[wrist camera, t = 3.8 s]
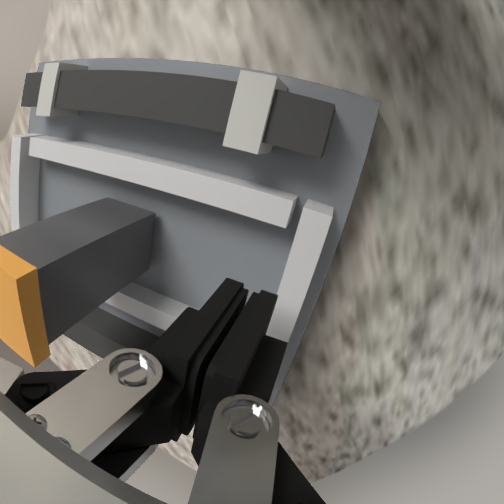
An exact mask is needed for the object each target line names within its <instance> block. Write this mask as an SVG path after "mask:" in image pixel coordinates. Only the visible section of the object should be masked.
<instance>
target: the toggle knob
mask: <svg viewBox="0 0 504 504" xmlns="http://www.w3.org/2000/svg"><path fill="white" fill-rule="evenodd" d="M155 215H156V212H153V211H149V210H146V209H143V208H140V207H137V206H134V205H131V204H128V203H124V202H121V201H118V200H115V199H112V198H109V197H107V198H103V199H100V200H97V201H94V202H91V203H88V204H85V205H82V206H79V207H76V208H74V209H71V210H68V211H65V212H62V213H59V214H57V215H54V216H51V217H49V218H46V219H43V220H40V221H38V222H35V223H33V224H30V225H28V226H25V227H22V228H20V229H17V230H15V231H12V232H10V233H8V234H5V235H3V236H0V339H1V340H3V341H4V342H5V343H6V344H7V345H8V346H9V347H10V348H12V349H13V350H14V351H15V352H16V353H17V354H19V355H20V356H21V357H22V358H24V359H25V360H26V361H27V362H28V363H30V364H31V365H32V366H33V367H36V366H37V365H39V364H40V363H41V362H42V361H43V360H45V359H46V358H47V357H48V356H50V355H51V354H50V350H49V344H50V343H52V342H53V341H54V340H56V339H57V338H58V337H59V336H61V335H62V334H63V333H65V332H66V331H67V330H68V329H70V328H71V327H72V326H74V325H75V324H76V323H77V322H79V321H80V320H81V319H83V318H84V317H85V316H87V315H88V314H89V313H91V312H92V311H93V310H95V309H96V308H97V307H99V306H100V305H101V304H103V303H104V302H105V301H107V300H108V299H109V298H111V297H112V296H113V295H115V294H116V293H117V292H119V291H120V290H121V289H123V288H124V287H125V286H127V285H128V284H130V283H131V282H132V281H134V280H135V279H136V278H138V277H139V276H141V275H142V274H143V273H145V272H146V271H148V270H149V268H150V258H151V248H152V239H153V231H154V223H155Z"/></svg>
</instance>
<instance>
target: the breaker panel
mask: <svg viewBox="0 0 504 504" xmlns="http://www.w3.org/2000/svg"><path fill="white" fill-rule="evenodd" d="M57 62H61V63H69V64H76V65H83V66H88V68H87V70H132V71H151V72H164V73H175V74H185V75H194V76H202V77H209V78H217V79H223V80H230V81H236V82H238V78H239V74H240V71H241V70H245V71H251V72H257V73H262V74H267V75H272V76H277V77H278V78H279V79H280V80H281V81H282V82H283V83H284V84H285V85H286V86H287V87H288V88H287V91H286V92H290V93H295V94H299V95H303V96H307V97H311V98H314V99H318V100H322V101H325V102H329V103H333V104H335V108H336V111H335V115H334V118H333V122H332V126H331V130H330V133H329V137H328V141H327V144H326V148H325V152H324V155H323V157H322V158H317V157H313V156H310V155H306V154H303V153H300V152H296V151H293V150H289V149H285V148H282V147H278V146H274V145H273V146H272V150H271V152H270V153H264V154H258V155H257V154H254V153H250V152H246V151H242V150H238V149H234V148H230V147H226V146H222V145H223V141H224V136H225V133H220V132H216V131H211V130H206V129H202V128H197V127H192V126H186V125H181V124H176V123H170V122H164V121H158V120H152V119H146V118H139V117H133V116H126V115H118V114H110V113H102V112H93V111H83V110H79V115H78V116H50V117H49V116H38V115H36V110H37V107H31V112H30V120H29V129H28V134H23V135H15V136H13V137H12V150H11V171H10V208H11V230H12V231H15V230H17V229H20V228H22V227H25V226H28V225H30V224H33V223H35V222H38V221H40V220H43V219H46V218H49V217H51V216H54V215H57V214H59V213H62V212H65V211H68V210H71V209H74V208H76V207H79V206H82V205H85V204H88V203H91V202H94V201H97V200H100V199H103V198H107V197H109V198H112V199H115V200H118V201H121V202H124V203H128V204H131V205H134V206H137V207H140V208H143V209H146V210H149V211H153V212H156V215H155V223H154V231H153V239H152V248H151V258H150V268H149V270H148V271H146V272H145V273H143V274H142V275H141V276H139V277H138V278H136V279H135V280H134V281H132V282H131V283H130V284H128V285H127V286H125V287H124V288H123V289H121V290H120V291H119V292H117V293H116V294H115V295H113V296H112V297H111V298H109V299H108V300H107V301H105V302H104V303H103V304H101V305H100V306H99V308H101V309H103V310H105V311H107V312H109V313H111V314H113V315H115V316H117V317H119V318H121V319H123V320H125V321H127V322H129V323H131V324H133V325H135V326H137V327H139V328H141V329H144V330H146V331H148V332H150V333H152V334H154V335H157V336H159V337H160V336H161V335H162V334H163V333H164V332H165V331H166V330H167V329H168V328H169V326H170V325H171V324H172V323H173V322H174V321H175V320H176V319H177V318H178V317H179V316H180V314H181V313H182V312H183V311H184V310H185V309H186V308H187V307H192V308H195V309H197V310H200V309H201V308H202V306H203V305H204V304H205V303H206V302H207V300H208V299H209V298H210V297H211V296H212V294H213V293H214V292H215V291H216V290H217V288H218V287H219V286H220V285H221V284H222V283H223V281H224V280H225V279H226V278H230V279H233V280H236V281H239V282H242V283H244V288H245V289H248V290H249V292H248V296H247V300H246V303H247V301H248V300H249V298H250V296H251V295H252V293H253V292H256V293H260V291H261V290H265V291H268V292H271V293H274V294H276V295H278V298H277V302H276V305H275V308H274V311H273V314H272V317H271V320H270V323H269V326H268V329H267V332H266V335H268V336H271V337H274V338H276V339H279V340H282V341H285V342H288V344H287V347H286V350H285V354H284V357H283V360H282V363H281V366H280V369H279V373H278V376H277V379H276V382H275V385H274V388H273V391H272V394H271V397H270V400H269V403H268V404H269V405H270V406H271V407H272V406H273V404H274V401H275V399H276V397H277V395H278V393H279V391H280V388H281V386H282V384H283V382H284V379H285V377H286V375H287V373H288V370H289V368H290V366H291V363H292V361H293V359H294V356H295V354H296V352H297V349H298V347H299V345H300V342H301V340H302V337H303V335H304V333H305V330H306V328H307V325H308V323H309V320H310V318H311V315H312V313H313V310H314V308H315V305H316V302H317V300H318V297H319V295H320V292H321V289H322V287H323V284H324V281H325V279H326V276H327V273H328V271H329V268H330V265H331V262H332V260H333V257H334V254H335V251H336V248H337V246H338V243H339V240H340V237H341V234H342V231H343V228H344V225H345V222H346V219H347V216H348V213H349V210H350V207H351V204H352V201H353V198H354V195H355V191H356V188H357V185H358V182H359V178H360V175H361V172H362V169H363V165H364V162H365V158H366V155H367V151H368V148H369V144H370V141H371V137H372V134H373V130H374V126H375V123H376V119H377V115H378V111H379V107H380V102H378V101H375V100H372V99H369V98H366V97H362V96H359V95H356V94H353V93H350V92H346V91H343V90H339V89H336V88H332V87H329V86H325V85H321V84H317V83H313V82H309V81H305V80H301V79H297V78H292V77H288V76H283V75H278V74H273V73H268V72H263V71H257V70H252V69H246V68H239V67H233V66H226V65H218V64H210V63H201V62H191V61H180V60H165V59H143V58H98V59H77V60H63V61H52V62H43V63H39V66H38V71H37V72H43V70H44V65H45V64H46V63H57ZM245 305H246V304H245Z"/></svg>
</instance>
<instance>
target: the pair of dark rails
mask: <svg viewBox="0 0 504 504" xmlns="http://www.w3.org/2000/svg"><path fill="white" fill-rule="evenodd" d="M87 68H88V66H83V65H76V64H69V63H61V62H57V63H46V64H45V65H44V70H43V72H36V73H27V74H26V79H25V85H24V90H23V96H22V103H21V106H26V107H37V110H36V115H38V116H49V117H50V116H78V115H79V110H83V111H93V112H102V113H110V114H118V115H126V116H133V117H139V118H146V119H152V120H158V121H164V122H170V123H176V124H181V125H186V126H192V127H197V128H202V129H206V130H211V131H216V132H220V133H225V136H224V141H223V145H222V146H226V147H230V148H234V149H238V150H242V151H246V152H250V153H254V154H257V155H258V154H264V153H270V152H271V150H272V146H273V145H274V146H278V147H282V148H285V149H289V150H293V151H296V152H300V153H303V154H306V155H310V156H313V157H317V158H322V157H323V155H324V152H325V148H326V144H327V141H328V137H329V133H330V130H331V126H332V122H333V118H334V115H335V111H336V108H335V104H333V103H329V102H325V101H322V100H318V99H314V98H311V97H307V96H303V95H299V94H295V93H290V92H286V91H287V88H288V87H287V86H286V85H285V84H284V83H283V82H282V81H281V80H280V79H279V78H278V77H277V76H272V75H267V74H262V73H257V72H251V71H245V70H241V71H240V74H239V78H238V82H236V81H230V80H223V79H217V78H209V77H202V76H194V75H185V74H175V73H164V72H151V71H132V70H87ZM63 334H64V335H65V336H67V337H68V338H70V339H72V340H73V341H75V342H76V343H78V344H80V345H81V346H83V347H85V348H86V349H88V350H90V351H91V352H93V353H95V354H96V355H98V356H100V357H102V358H103V359H104V358H105V357H106V356H108V355H109V354H111V353H113V352H115V351H117V350H120V349H125V348H135V349H140V350H144V351H146V352H147V351H148V350H149V348H150V347H151V346H152V345H153V344H154V343H155V342H156V341H157V340H158V339H159V336H157V335H154V334H152V333H150V332H148V331H146V330H144V329H141V328H139V327H137V326H135V325H133V324H131V323H129V322H127V321H125V320H123V319H121V318H119V317H117V316H115V315H113V314H111V313H109V312H107V311H105V310H103V309H101V308H99V307H97V308H96V309H95V310H93V311H92V312H91V313H89V314H88V315H87V316H85V317H84V318H83V319H81V320H80V321H79V322H77V323H76V324H75V325H74V326H72V327H71V328H70V329H68V330H67V331H66V332H65V333H63Z"/></svg>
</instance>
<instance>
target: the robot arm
mask: <svg viewBox="0 0 504 504" xmlns="http://www.w3.org/2000/svg"><path fill="white" fill-rule="evenodd" d="M248 292H249V290H248V289H245V288H244V283H242V282H239V281H236V280H233V279H230V278H226V279H225V280H224V281H223V283H222V284H221V285H220V286H219V287H218V288H217V290H216V291H215V292H214V293H213V294H212V296H211V297H210V298H209V299H208V300H207V302H206V303H205V304H204V305H203V306H202V308H201V309H200V310H197V309H195V308H192V307H187V308H186V309H185V310H184V311H183V312H182V313H181V314H180V316H179V317H178V318H177V319H176V320H175V321H174V322H173V323H172V324H171V325H170V326H169V328H168V329H167V330H166V331H165V332H164V333H163V334H162V335H161V336H160V337H159V339H158V340H157V341H156V342H155V343H154V344H153V345H152V346H151V347H150V348H149V350H148V351H147V352H146V351H144V350H140V349H135V348H125V349H120V350H117V351H115V352H113V353H111V354H109V355H108V356H106V357H105V358H104V359H102V360H101V361H99V362H98V363H96V364H95V365H94V366H92V367H91V368H89V369H88V370H74V371H57V372H56V371H55V372H33V373H28V374H25V373H24V369H22V368H20V367H18V366H16V365H14V364H12V363H10V362H8V361H7V360H5V359H3V358H1V357H0V504H167V503H165V502H162V501H160V500H158V499H156V498H154V497H152V496H150V495H148V494H146V493H144V492H142V491H140V490H138V489H136V488H134V487H132V486H130V485H128V484H127V483H125V482H126V481H127V480H128V478H129V477H130V476H131V475H132V474H133V473H134V472H135V471H136V470H137V469H138V468H139V467H140V466H141V465H142V464H143V463H144V462H145V461H146V460H147V459H148V457H149V456H150V455H151V454H152V453H153V452H154V451H155V450H156V448H157V447H158V444H162V443H167V442H169V441H170V440H171V439H172V440H174V441H176V442H177V441H178V439H179V437H180V436H181V434H184V435H188V434H189V433H190V431H191V430H192V428H193V426H194V424H195V427H194V432H193V438H194V440H193V445H192V450H191V453H192V455H193V457H194V459H195V461H196V463H197V464H198V466H199V467H198V471H197V474H196V477H195V481H194V484H193V488H192V491H191V495H190V498H189V502H188V504H326V503H325V502H324V501H323V500H322V498H321V497H320V496H319V495H318V493H317V492H316V491H315V490H314V488H313V487H312V486H311V484H310V483H309V482H308V481H307V479H306V478H305V477H304V475H303V474H302V473H301V471H300V470H299V469H298V467H297V466H296V465H295V463H294V462H293V461H292V459H291V458H290V457H289V455H288V454H287V453H286V451H285V450H284V449H283V447H282V446H281V444H280V443H279V442H278V436H279V417H278V415H277V414H276V412H275V410H274V409H273V408H272V407H271V406H270V405H269V404H268V403H269V400H270V397H271V394H272V391H273V388H274V385H275V382H276V379H277V376H278V373H279V369H280V366H281V363H282V360H283V357H284V354H285V350H286V347H287V344H288V342H285V341H282V340H279V339H276V338H274V337H271V336H268V335H266V332H267V329H268V326H269V323H270V320H271V317H272V314H273V311H274V308H275V305H276V302H277V298H278V295H276V294H274V293H271V292H268V291H265V290H261V291H260V293H256V292H253V293H252V295H251V296H250V298H249V300H248V301H247V303H246V300H247V296H248ZM245 304H246V305H245Z"/></svg>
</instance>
